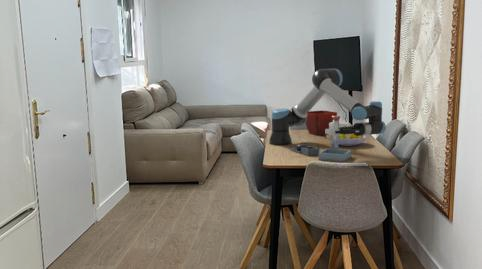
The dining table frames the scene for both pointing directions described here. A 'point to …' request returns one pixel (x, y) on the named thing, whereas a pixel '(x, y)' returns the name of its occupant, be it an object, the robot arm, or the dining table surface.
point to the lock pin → (336, 137)
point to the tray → (335, 155)
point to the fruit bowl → (348, 139)
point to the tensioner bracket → (305, 150)
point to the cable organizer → (340, 124)
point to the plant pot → (319, 121)
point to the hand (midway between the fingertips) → (327, 132)
